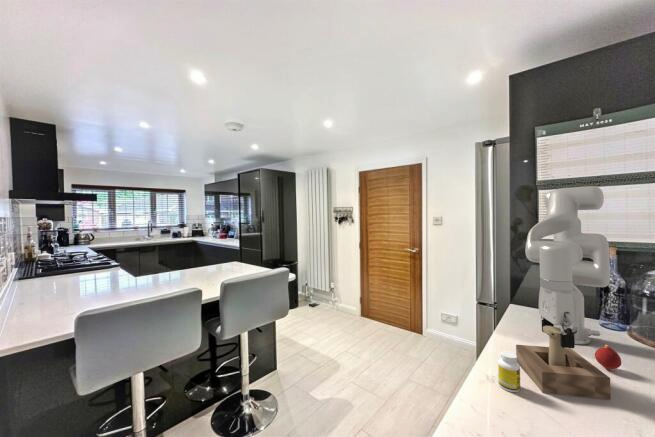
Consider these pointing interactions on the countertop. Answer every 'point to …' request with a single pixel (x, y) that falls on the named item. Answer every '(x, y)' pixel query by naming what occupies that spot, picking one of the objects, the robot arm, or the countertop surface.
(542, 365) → the well block
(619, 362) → the onion
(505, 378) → the supplement bottle
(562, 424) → the countertop surface
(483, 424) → the countertop surface
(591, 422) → the countertop surface
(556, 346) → the handle
